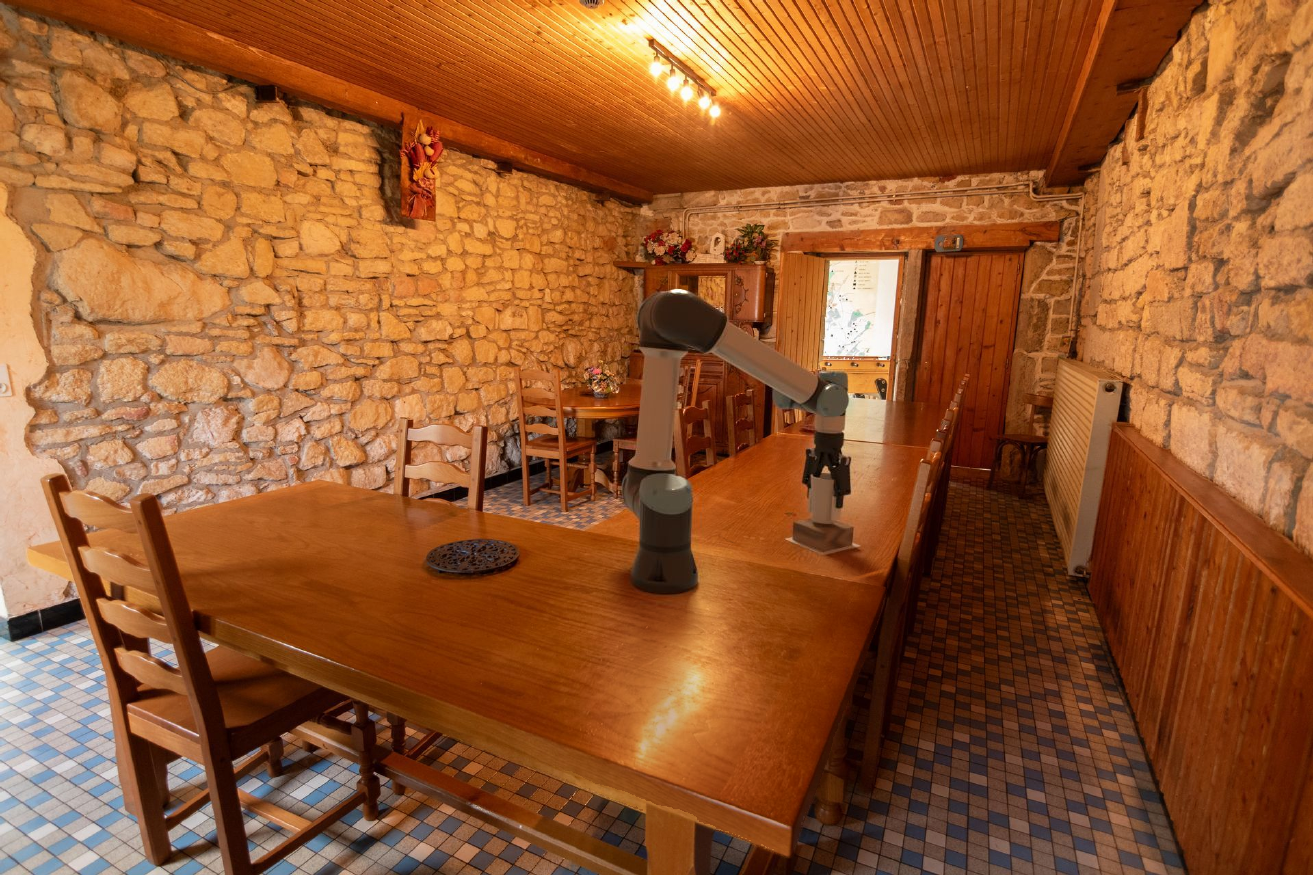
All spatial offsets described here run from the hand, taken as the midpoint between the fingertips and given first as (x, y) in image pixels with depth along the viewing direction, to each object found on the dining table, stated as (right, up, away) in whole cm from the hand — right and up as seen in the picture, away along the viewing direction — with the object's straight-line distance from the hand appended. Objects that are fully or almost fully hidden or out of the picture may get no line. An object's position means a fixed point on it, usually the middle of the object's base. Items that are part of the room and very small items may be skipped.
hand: (823, 515), depth 163 cm
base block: (0, -7, +1) cm, 7 cm away
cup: (0, -2, 0) cm, 1 cm away
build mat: (0, -8, +1) cm, 8 cm away
